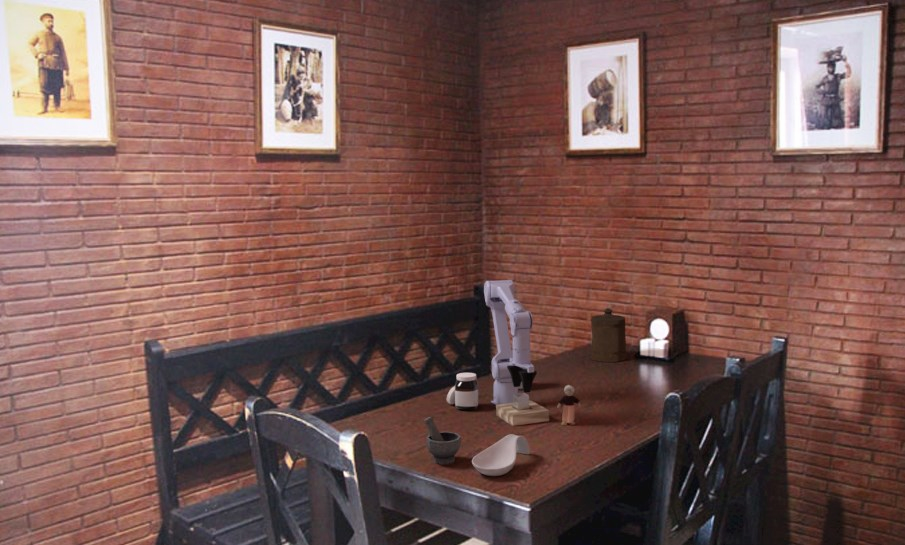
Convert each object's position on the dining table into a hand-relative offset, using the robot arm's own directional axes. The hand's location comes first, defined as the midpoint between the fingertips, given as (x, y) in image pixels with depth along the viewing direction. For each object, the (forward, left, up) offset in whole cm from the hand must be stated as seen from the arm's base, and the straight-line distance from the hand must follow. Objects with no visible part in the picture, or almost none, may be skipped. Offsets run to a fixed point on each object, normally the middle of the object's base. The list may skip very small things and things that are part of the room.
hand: (521, 389), depth 265 cm
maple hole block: (0, 0, -10) cm, 10 cm away
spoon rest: (+38, -24, -10) cm, 46 cm away
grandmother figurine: (+12, +11, -10) cm, 19 cm away
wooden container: (-64, +72, -10) cm, 97 cm away
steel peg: (0, 0, -10) cm, 10 cm away
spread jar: (-21, -13, -10) cm, 27 cm away
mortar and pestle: (+27, -38, -10) cm, 48 cm away
